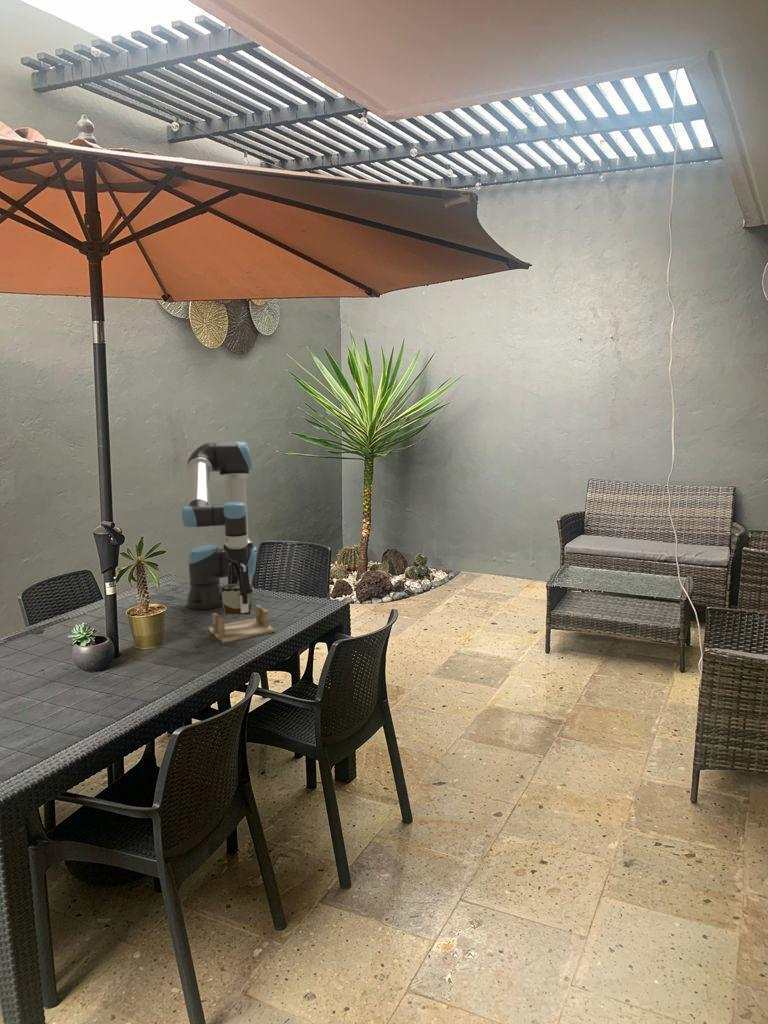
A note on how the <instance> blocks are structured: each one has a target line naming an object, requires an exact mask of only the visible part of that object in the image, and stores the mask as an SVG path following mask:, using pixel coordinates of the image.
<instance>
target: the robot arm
mask: <svg viewBox="0 0 768 1024" xmlns="http://www.w3.org/2000/svg"><path fill="white" fill-rule="evenodd" d="M251 458H252V457H251V453H250V449H249V445H248V443H247V442H245V441H223V442H221V441H219V442H213V441H212V442H207V443H204V444H201V445H200V446H198V447H197V448H196V449H194V450H193V452H192V453H191V454H190V455H189V458H188V460H187V464H186V470H187V473H188V474H189V477H188V478H189V479H188V505H186V506H182V508H181V520H182V524H183V527H186V528H205V527H218V526H224V536H225V538H224V539H223V541H224V543H223V546H222V547H223V548H219V547H218V545H217V544H206V545H201V546H196V547H194V548H193V549H191V550H190V551H189V552H188V557H187V559H188V561H187V564H188V573H189V574H188V575H189V589H188V590H189V591H188V594H187V598H186V607H187V608H189V609H192V610H210V609H215V608H219V607H221V606H223V601H222V594H221V592H220V589H221V587H222V585H221V579H223V578H227V585H228V584H238V583H239V587H240V592H241V594H239V596H240V608H241V613H245V612H249V604H248V594H250V593H251V592H250V585H251V583H250V577H251V576H253V575H254V574H255V572H256V566H257V565H256V563H257V547H256V546H254V541H252V540H251V539H250V537H249V517H248V501H247V500H248V498H247V484H246V483H247V482H246V481H247V480H246V479H247V478H248V477H249V475H250V471H252V470H253V465H252V459H251ZM213 472H214V473H215V472H217V473H218V472H219V477H220V478H221V479H222V480H223V487H224V488H223V489H224V490H223V492H224V504H223V503H222V504H210V503H211V502H210V501H211V497H210V495H211V493H210V491H211V490H210V489H211V488H210V486H211V483H210V481H211V479H210V475H211V474H212V473H213Z"/></svg>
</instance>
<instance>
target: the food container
mask: <svg viewBox="0 0 768 1024" xmlns="http://www.w3.org/2000/svg"><path fill="white" fill-rule="evenodd" d="M220 592H221V594H222V601H223V605H222V606H223V614H224V616H251V615H252V606H253V594H254V593H255V589H254V586H253V584H250V592H251V593H250V594H248V604H249V612H245V613H241V608H240V596H239V594H241V592H240V587H239V582H238V584H228V583H227V584H225V585H221V589H220Z"/></svg>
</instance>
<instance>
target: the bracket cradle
mask: <svg viewBox="0 0 768 1024" xmlns="http://www.w3.org/2000/svg"><path fill="white" fill-rule="evenodd" d="M269 621H270V620H269V610H268V609H266V608H265V607H263V606H261V605H260V604H257V605H255V617H254V618H250V619H244V620H238V621H233V622H230V623H229V622H228V623H225V619H224V618H223V617H222V616H220V615H219V614H218V613H217V612H212V626H208V627H207V631H209V632H210V633H211V634H212V635H213V634H214V636H215V638H217V639H218V640H219V641H220V642H222V644H226V643H229V642H235V641H239V639H240V640H244V638H245V639H249V637H250V638H254V637H253V636H255V637H259V636H258V635H260V636H264V635H269V634H273V633H272V632H274V633H276V629H275V628H273V627H272V626H271V625H270V624H269V623H270V622H269ZM268 633H269V634H268ZM263 634H264V635H263ZM225 642H226V643H225Z"/></svg>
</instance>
